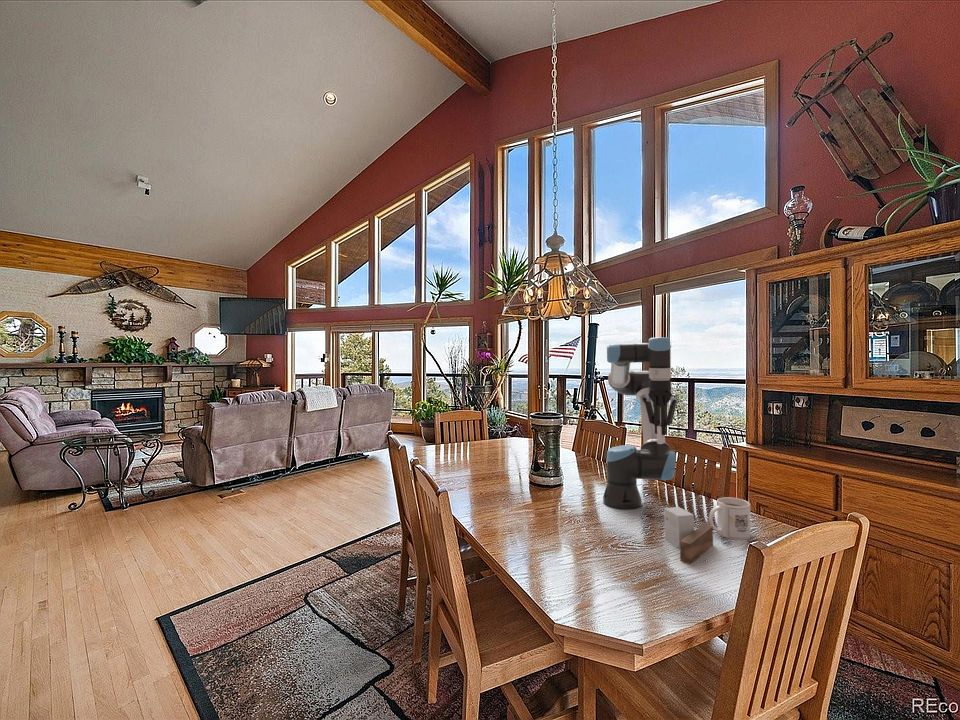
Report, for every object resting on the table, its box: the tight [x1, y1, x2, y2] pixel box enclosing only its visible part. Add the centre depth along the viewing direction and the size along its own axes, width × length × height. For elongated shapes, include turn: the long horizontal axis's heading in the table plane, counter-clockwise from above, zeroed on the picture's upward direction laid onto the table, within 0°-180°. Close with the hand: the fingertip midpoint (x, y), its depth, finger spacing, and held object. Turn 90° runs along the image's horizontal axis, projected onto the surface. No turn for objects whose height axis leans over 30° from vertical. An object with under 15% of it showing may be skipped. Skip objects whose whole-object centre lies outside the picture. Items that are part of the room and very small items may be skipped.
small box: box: [663, 506, 695, 550], centre depth 146 cm, size 8×6×10 cm
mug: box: [708, 496, 752, 541], centre depth 152 cm, size 10×12×11 cm
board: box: [679, 523, 714, 565], centre depth 139 cm, size 3×18×6 cm, turn 134°
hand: (660, 443), depth 165 cm, fingers closed
